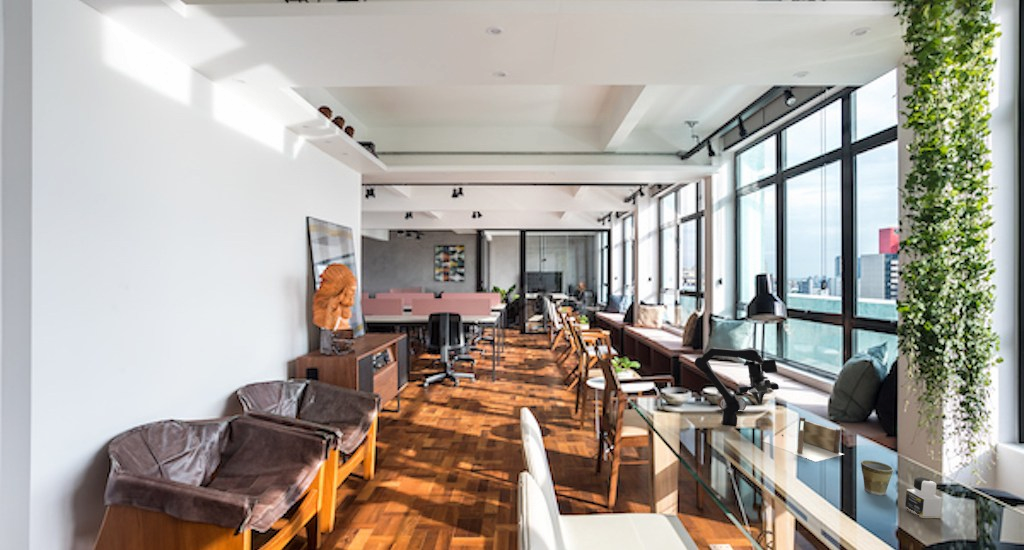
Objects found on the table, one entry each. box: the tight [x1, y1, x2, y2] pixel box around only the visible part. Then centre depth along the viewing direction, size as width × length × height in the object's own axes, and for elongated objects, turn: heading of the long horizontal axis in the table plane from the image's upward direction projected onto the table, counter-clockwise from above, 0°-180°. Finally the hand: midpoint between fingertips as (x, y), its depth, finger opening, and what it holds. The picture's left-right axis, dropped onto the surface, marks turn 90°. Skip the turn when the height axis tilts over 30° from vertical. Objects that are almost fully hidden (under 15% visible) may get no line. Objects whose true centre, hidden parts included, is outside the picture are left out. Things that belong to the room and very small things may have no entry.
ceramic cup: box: [860, 459, 894, 496], centre depth 200 cm, size 13×10×10 cm
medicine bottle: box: [904, 476, 943, 517], centre depth 182 cm, size 7×7×12 cm
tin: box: [717, 395, 747, 411], centre depth 298 cm, size 15×3×8 cm, turn 84°
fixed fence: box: [797, 416, 842, 454], centre depth 244 cm, size 19×2×11 cm, turn 30°
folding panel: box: [797, 421, 804, 453], centre depth 242 cm, size 18×2×10 cm, turn 150°
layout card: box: [792, 441, 845, 463], centre depth 243 cm, size 28×22×1 cm
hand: (759, 404), depth 266 cm, fingers closed
